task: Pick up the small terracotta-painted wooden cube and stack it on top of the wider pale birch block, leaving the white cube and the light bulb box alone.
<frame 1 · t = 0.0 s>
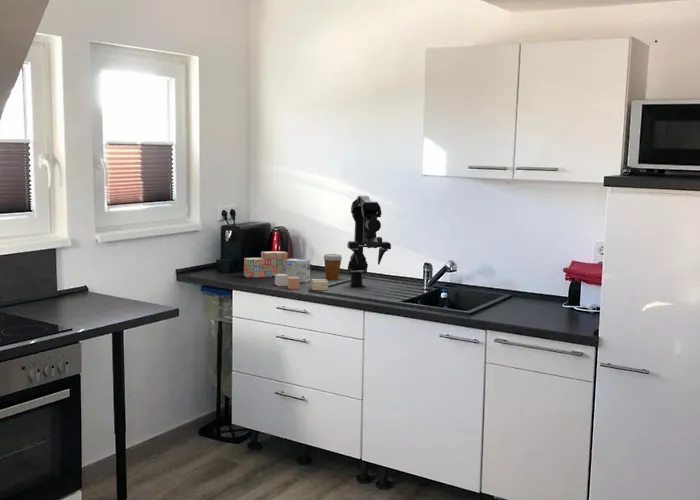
hand: (368, 264, 341), 15 cm above the countertop, tool pointing down, fingers open, 9 cm apart
terracotta cube: (293, 288, 360), on the countertop
white cube: (281, 285, 367), on the countertop
disposable coffee cup: (332, 279, 389), on the countertop
light bulb box: (298, 281, 379), on the countertop
birch block: (319, 288, 360), on the countertop
stack of blocks: (265, 276, 391), on the countertop
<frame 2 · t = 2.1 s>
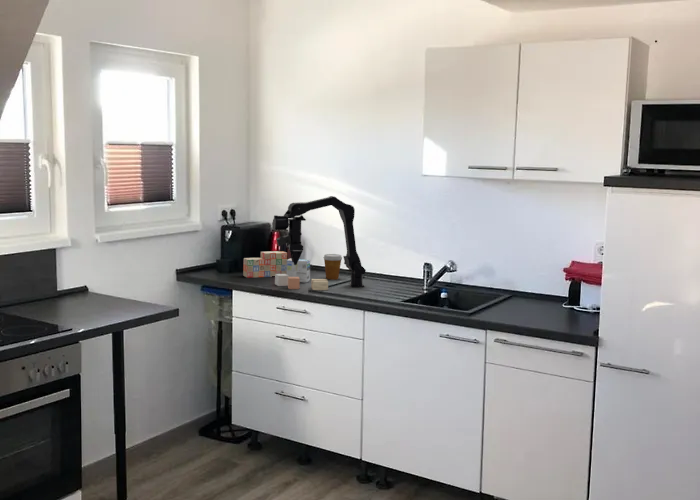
hand: (294, 263, 358), 12 cm above the countertop, tool pointing down, fingers open, 9 cm apart
nothing on the countertop moved.
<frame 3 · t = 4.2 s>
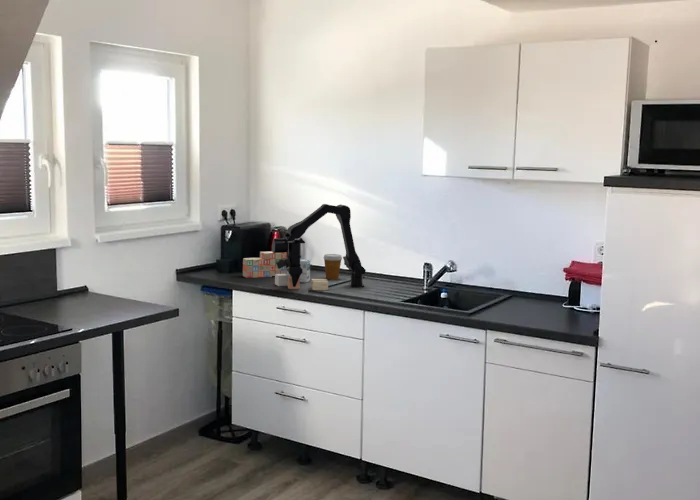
hand: (293, 285, 360), 1 cm above the countertop, tool pointing down, fingers closed on terracotta cube, 5 cm apart
terracotta cube: (293, 287, 360), on the countertop, touching gripper
everything else where it was.
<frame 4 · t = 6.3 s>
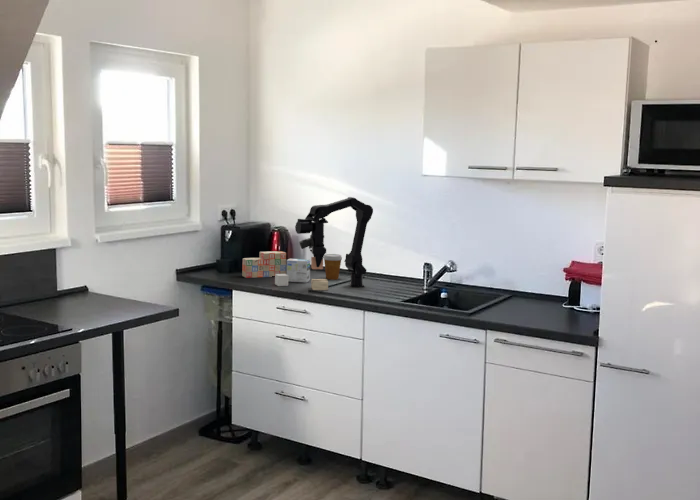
hand: (317, 266, 358), 11 cm above the countertop, tool pointing down, fingers closed on terracotta cube, 5 cm apart
terracotta cube: (317, 268, 359), point 10 cm above the countertop, touching gripper
everything else where it was.
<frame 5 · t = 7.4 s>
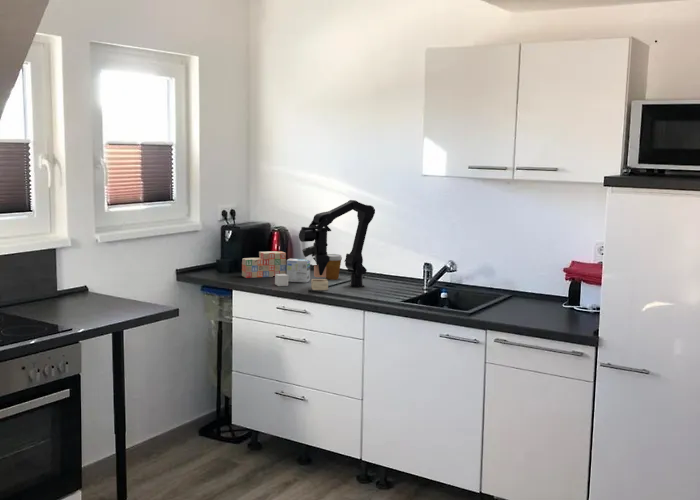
hand: (320, 274, 359), 7 cm above the countertop, tool pointing down, fingers closed on terracotta cube, 5 cm apart
terracotta cube: (319, 276, 359), point 6 cm above the countertop, touching gripper
when the fingers open (6 cm above the countertop, at t = 8.4 s): terracotta cube stays where it is, resting on birch block.
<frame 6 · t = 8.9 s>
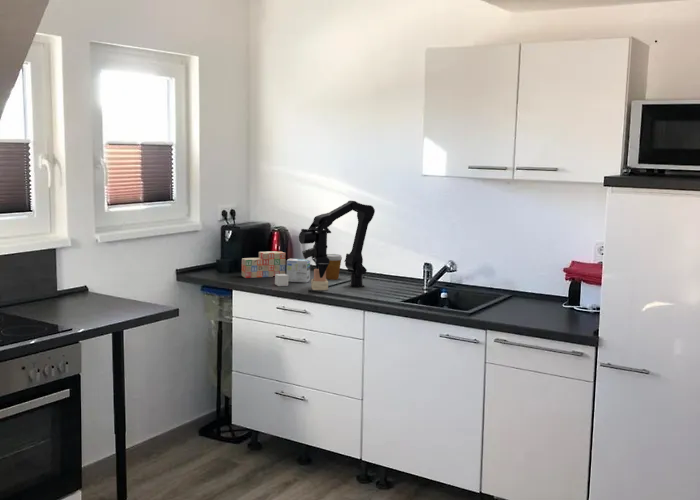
hand: (319, 276, 359), 6 cm above the countertop, tool pointing down, fingers open, 9 cm apart
terracotta cube: (319, 280, 359), point 4 cm above the countertop, touching birch block
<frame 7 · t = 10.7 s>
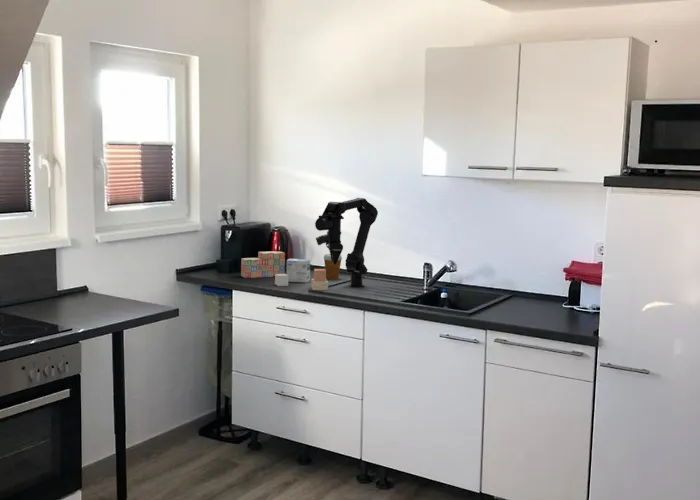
hand: (333, 262, 356), 13 cm above the countertop, tool pointing down, fingers open, 9 cm apart
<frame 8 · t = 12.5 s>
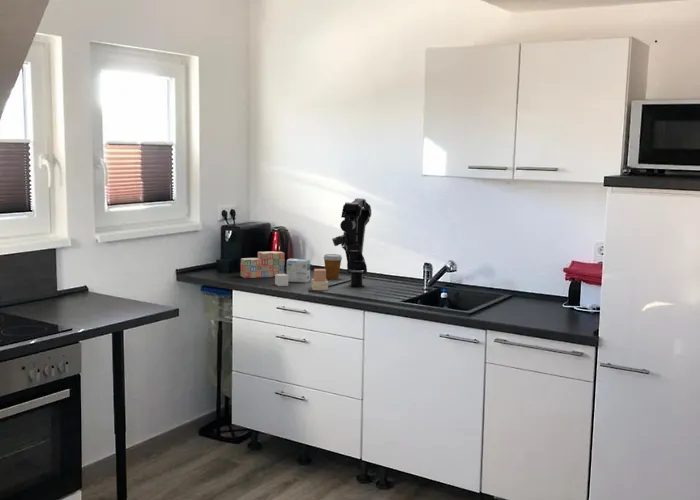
hand: (350, 263, 353), 13 cm above the countertop, tool pointing down, fingers open, 9 cm apart
at the end: terracotta cube 0.0 cm off-centre on the birch block, point 4.0 cm above the birch block's base; terracotta cube tilted 0°; the gripper is holding nothing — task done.
